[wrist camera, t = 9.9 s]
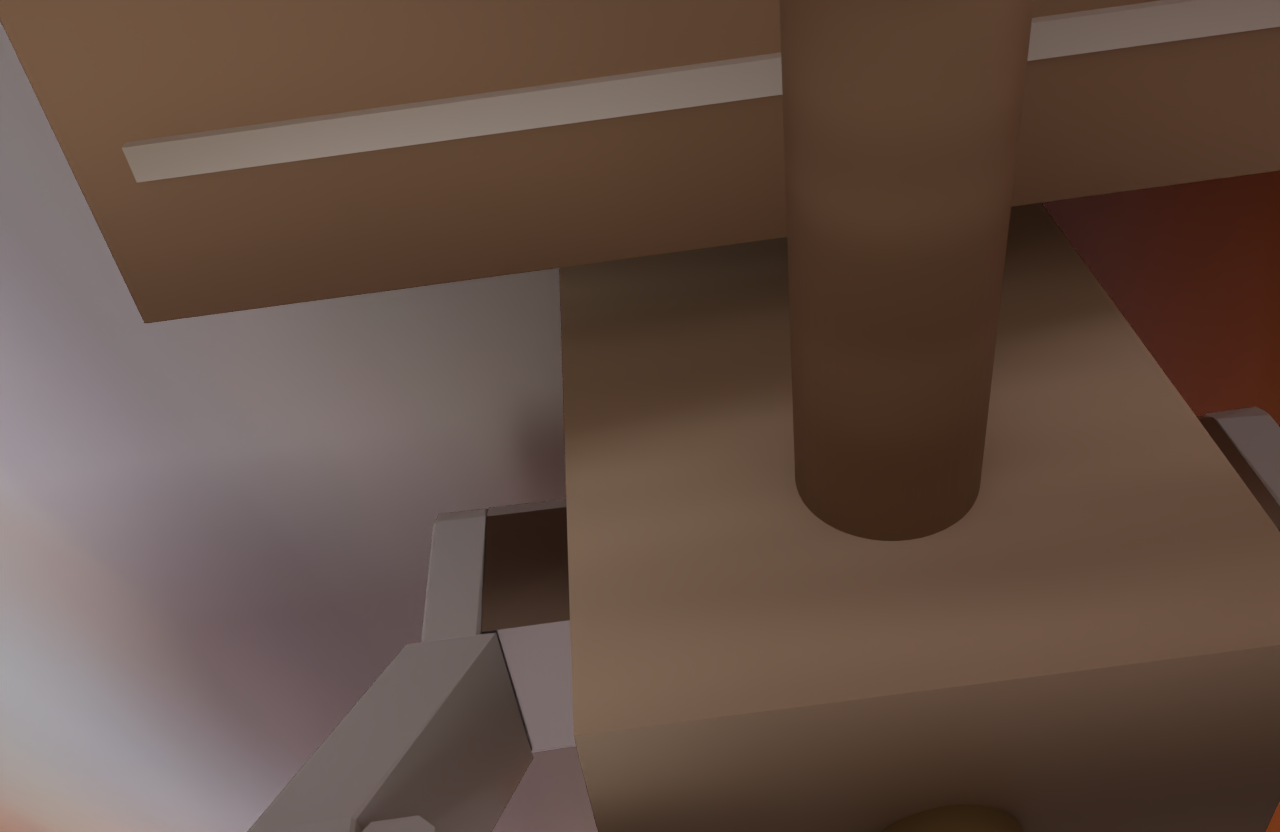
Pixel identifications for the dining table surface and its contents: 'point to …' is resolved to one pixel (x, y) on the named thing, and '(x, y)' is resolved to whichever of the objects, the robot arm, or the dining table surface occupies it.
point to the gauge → (903, 494)
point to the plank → (546, 129)
